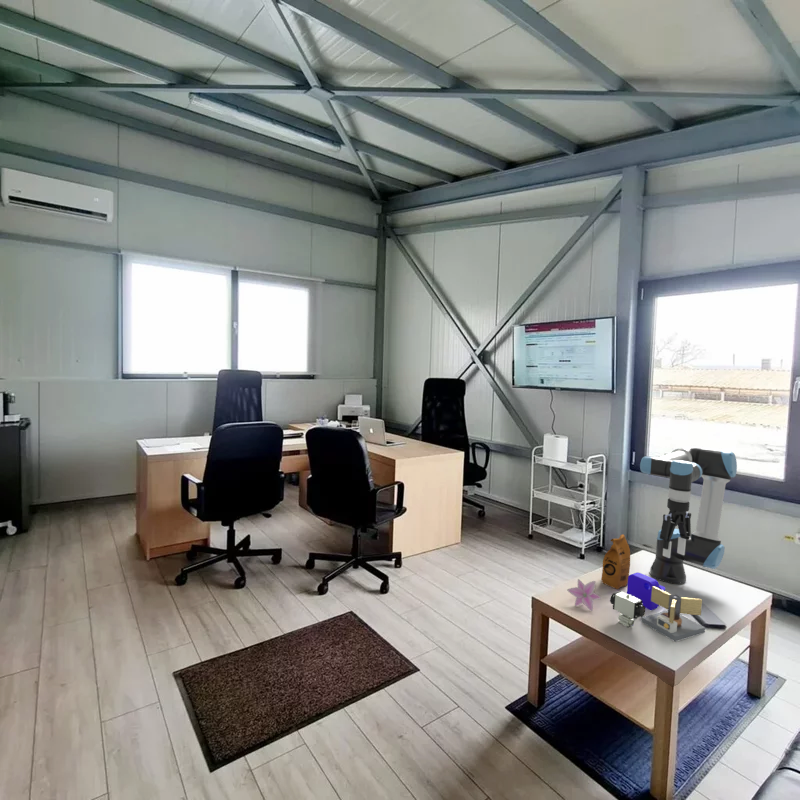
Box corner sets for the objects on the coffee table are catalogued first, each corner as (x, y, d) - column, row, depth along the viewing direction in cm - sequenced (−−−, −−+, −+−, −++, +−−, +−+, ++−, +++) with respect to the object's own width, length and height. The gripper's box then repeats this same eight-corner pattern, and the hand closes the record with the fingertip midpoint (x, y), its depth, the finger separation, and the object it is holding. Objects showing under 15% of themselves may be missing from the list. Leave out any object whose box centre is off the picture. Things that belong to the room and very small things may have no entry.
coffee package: (597, 582, 219) (600, 536, 218) (611, 575, 227) (615, 531, 225) (617, 590, 211) (621, 543, 210) (632, 584, 219) (635, 537, 217)
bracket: (650, 610, 195) (653, 583, 194) (626, 599, 204) (628, 572, 204) (674, 600, 205) (676, 574, 204) (649, 590, 214) (652, 564, 213)
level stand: (670, 614, 193) (671, 601, 192) (704, 632, 180) (706, 618, 180) (640, 622, 186) (641, 608, 185) (673, 642, 173) (674, 627, 172)
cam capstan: (665, 605, 195) (667, 582, 194) (700, 624, 182) (703, 599, 181) (636, 613, 188) (638, 589, 187) (671, 633, 175) (673, 607, 174)
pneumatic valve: (637, 633, 178) (640, 602, 177) (608, 618, 187) (610, 589, 186) (645, 628, 181) (647, 598, 180) (615, 614, 190) (618, 586, 189)
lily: (562, 600, 202) (564, 587, 197) (580, 585, 208) (582, 571, 202) (586, 621, 194) (589, 607, 189) (604, 604, 199) (607, 590, 194)
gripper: (686, 495, 196) (681, 548, 197) (652, 499, 187) (647, 555, 189) (704, 500, 189) (699, 555, 191) (669, 504, 180) (664, 562, 182)
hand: (673, 555), depth 190 cm, fingers open, 8 cm apart
